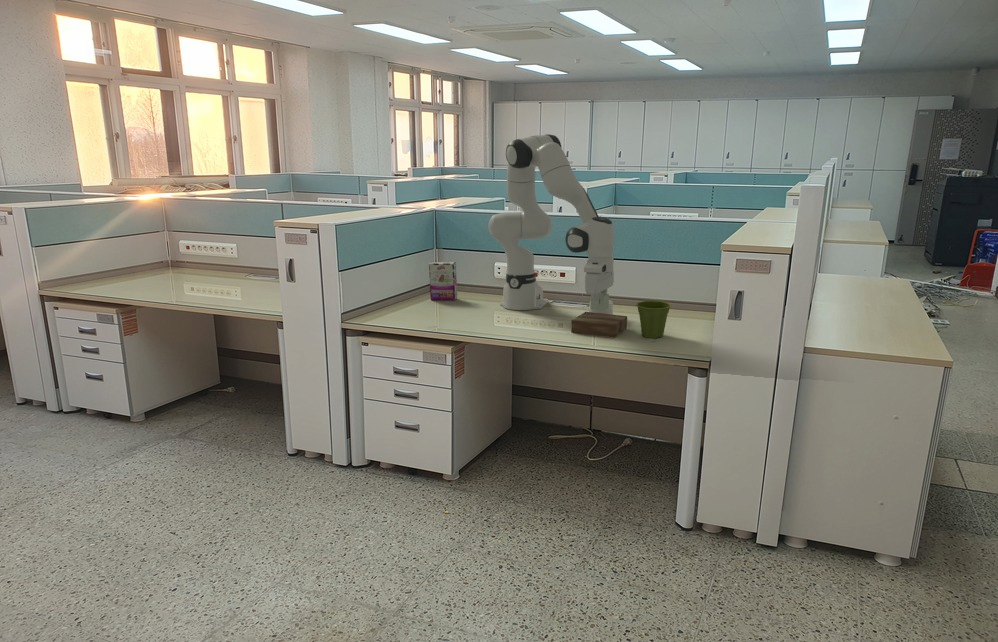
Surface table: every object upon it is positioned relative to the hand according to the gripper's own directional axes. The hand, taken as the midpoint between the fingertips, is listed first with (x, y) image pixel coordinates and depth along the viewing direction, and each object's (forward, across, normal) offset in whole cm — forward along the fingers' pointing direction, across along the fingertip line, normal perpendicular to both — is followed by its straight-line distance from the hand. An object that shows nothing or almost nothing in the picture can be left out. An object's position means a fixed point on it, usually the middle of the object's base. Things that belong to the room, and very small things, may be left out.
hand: (599, 302), depth 238 cm
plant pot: (+10, -1, +19) cm, 22 cm away
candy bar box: (+10, -21, -79) cm, 82 cm away
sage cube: (+2, 0, 0) cm, 2 cm away
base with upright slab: (+10, -19, -6) cm, 23 cm away
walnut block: (+11, 0, 0) cm, 11 cm away
